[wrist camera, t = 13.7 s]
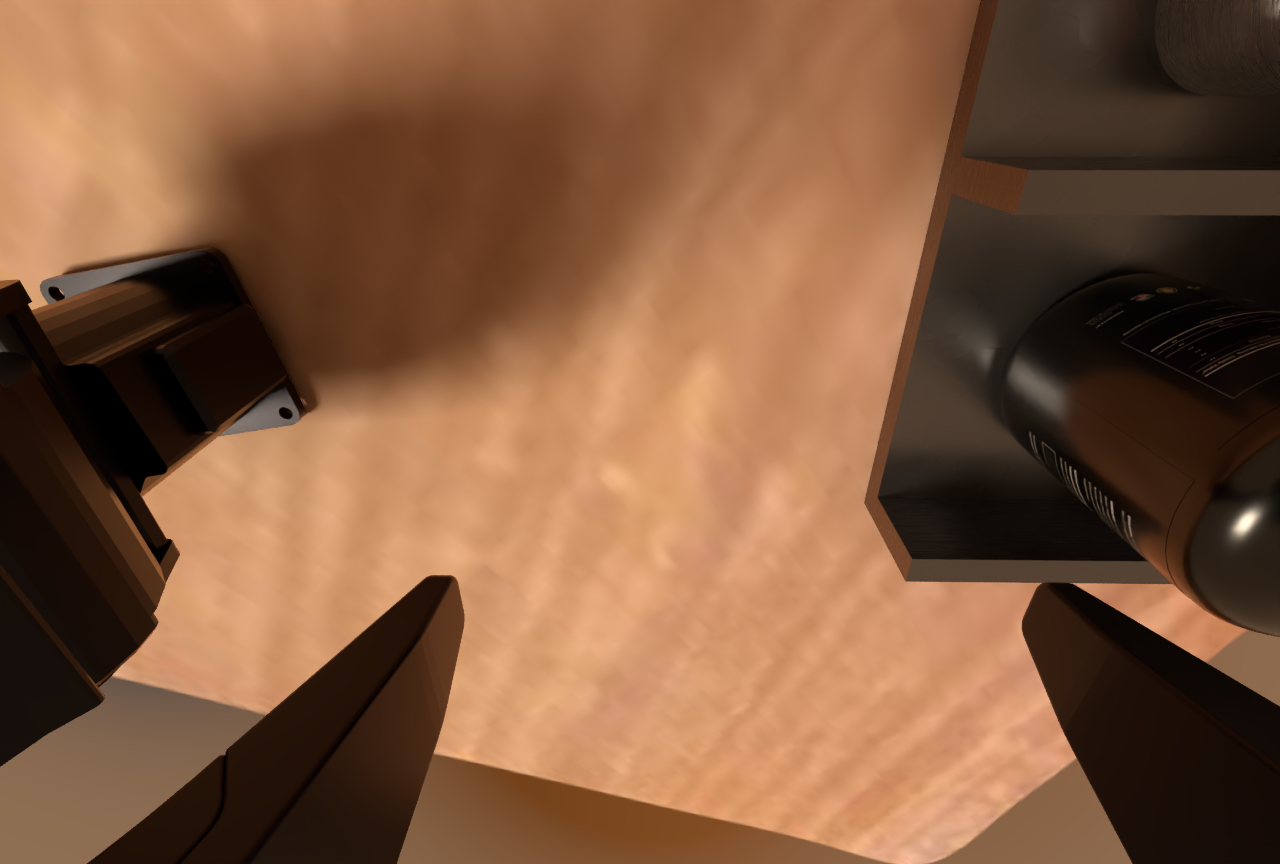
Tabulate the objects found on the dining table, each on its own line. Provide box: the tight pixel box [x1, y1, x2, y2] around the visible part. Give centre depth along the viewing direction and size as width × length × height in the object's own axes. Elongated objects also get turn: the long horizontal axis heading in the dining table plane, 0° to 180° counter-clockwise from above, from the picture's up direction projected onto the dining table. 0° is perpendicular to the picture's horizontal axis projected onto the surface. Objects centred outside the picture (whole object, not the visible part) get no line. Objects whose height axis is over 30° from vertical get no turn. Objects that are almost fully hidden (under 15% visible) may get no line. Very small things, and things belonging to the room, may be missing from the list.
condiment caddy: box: [864, 0, 1280, 584], centre depth 15 cm, size 13×22×8 cm, turn 0°
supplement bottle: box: [1000, 273, 1280, 637], centre depth 15 cm, size 7×7×12 cm
